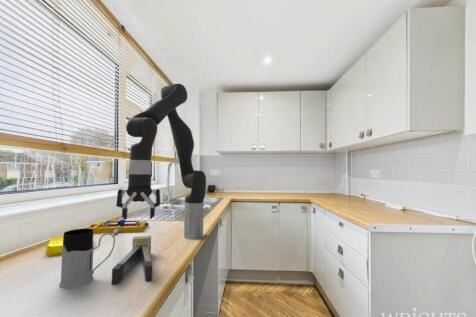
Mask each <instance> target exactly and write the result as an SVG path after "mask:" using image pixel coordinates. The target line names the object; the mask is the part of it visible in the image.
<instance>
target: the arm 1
mask: <svg viewBox="0 0 476 317" xmlns="http://www.w3.org/2000/svg"><path fill="white" fill-rule="evenodd" d="M140 259H141V258H140V246H135V247H134V248H133V249H132V248H131V250H130V251H129V252H128V253H127V254H126V255H125V256H123V258H122V259H121V260H120V261H119V262H117V263H116V264H115V266H114V267H113V268H112V269H111V285H117V286H118V285H119V284H120V282H122V280H123V279H124V278H125V277H126V276H127V274H128V273H129V272H130V270H132V269H133V267H134V266H136V264H137V263H138V261H139V260H140Z"/></svg>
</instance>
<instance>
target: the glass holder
mask: <svg viewBox="0 0 476 317" xmlns="http://www.w3.org/2000/svg"><path fill="white" fill-rule="evenodd" d="M63 235H64V237H63V243H62V255H61V267H60V268H61V270H60V271H61V273H60V282H59V284H58V287H59V288H60V289H61V290H62V289H63V290H71V289H77V288H81V287H84V286H87V285H89V284H90V283H92V282H93V281H94V278H95V277H94V273H95V270H97V269H98V268H99V267H100V266H101V265H102V264H103V263H104V262H106V261H107V260H108V258H110V257H111V255H112V253H113V251H114V248H115V244H116V237H115V235H114V234H113V233H106V234H101V236H100V237H99V239H98V245H97V246H95V247H94V234H93V229H91V228H78V229H77V228H75V229H70V230H67V231H65V232H64V233H63ZM106 235H108V236H111V237H112V238H113V243H112V244H113V245H112V248H111V250H110V252H109V253H108V256H106V258H105V259H103V260H102V261H101V262H100V263H99V264H97V265H96V266H95V267H94V268H93V264H94V250H95V249H98V248H100V246H101V241H102V238H103V237H105V236H106Z"/></svg>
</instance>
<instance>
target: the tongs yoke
mask: <svg viewBox="0 0 476 317" xmlns="http://www.w3.org/2000/svg"><path fill="white" fill-rule="evenodd" d="M135 246H140V259H142V246H147V247H148V249H149V243H145V244H135Z"/></svg>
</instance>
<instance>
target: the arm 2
mask: <svg viewBox="0 0 476 317" xmlns="http://www.w3.org/2000/svg"><path fill="white" fill-rule="evenodd" d="M141 262H142V269H143V275H144V280H145V282H151V281H153V263H152V259H151V255H149V248H148V247H147V246H142V258H141Z"/></svg>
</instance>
